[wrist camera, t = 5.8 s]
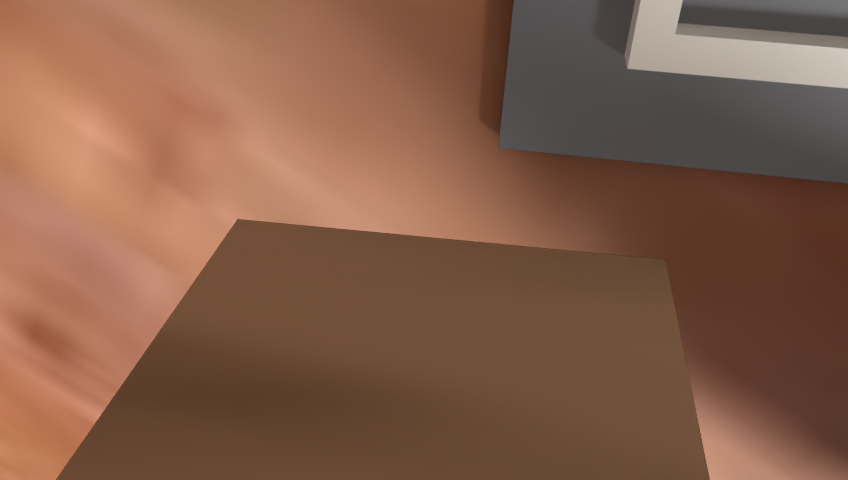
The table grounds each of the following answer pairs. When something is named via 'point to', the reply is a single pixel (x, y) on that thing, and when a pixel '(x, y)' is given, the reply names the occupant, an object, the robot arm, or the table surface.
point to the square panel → (682, 83)
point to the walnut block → (405, 367)
